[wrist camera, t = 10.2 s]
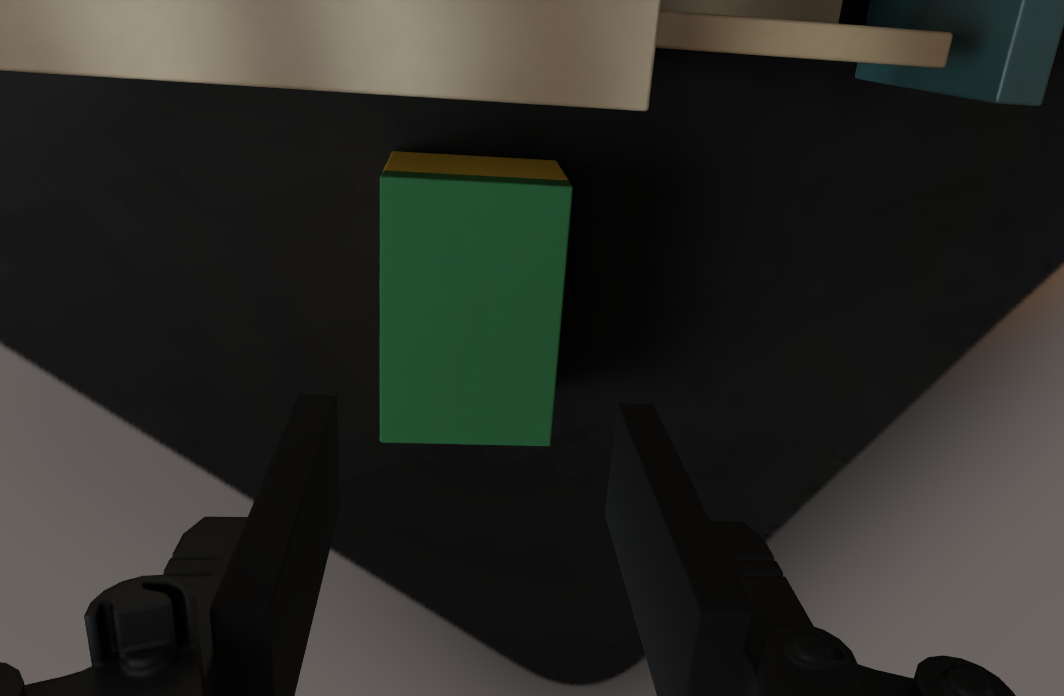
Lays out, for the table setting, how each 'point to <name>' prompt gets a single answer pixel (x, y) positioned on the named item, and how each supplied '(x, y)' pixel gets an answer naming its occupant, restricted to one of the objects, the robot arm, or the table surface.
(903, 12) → the drawer
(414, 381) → the sponge
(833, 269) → the table surface
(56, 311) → the table surface
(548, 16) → the cabinet
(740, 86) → the table surface
